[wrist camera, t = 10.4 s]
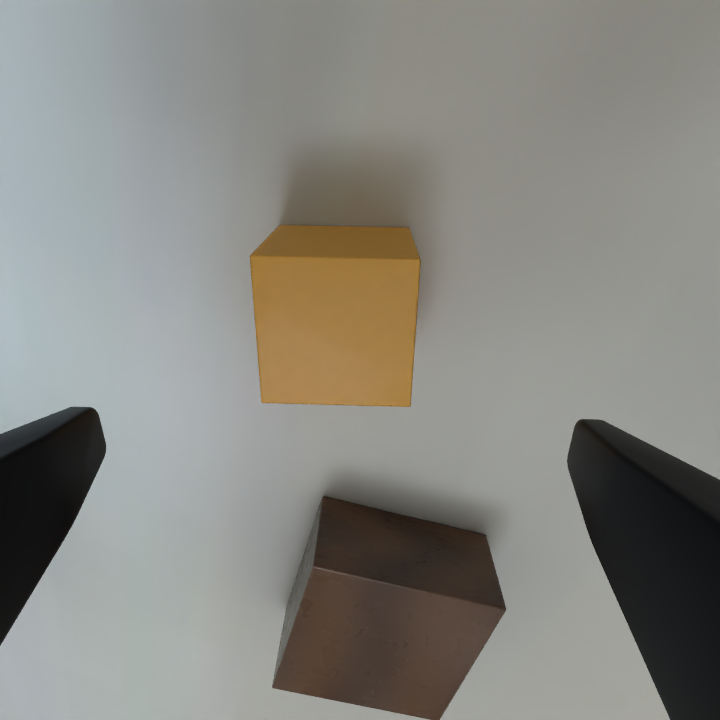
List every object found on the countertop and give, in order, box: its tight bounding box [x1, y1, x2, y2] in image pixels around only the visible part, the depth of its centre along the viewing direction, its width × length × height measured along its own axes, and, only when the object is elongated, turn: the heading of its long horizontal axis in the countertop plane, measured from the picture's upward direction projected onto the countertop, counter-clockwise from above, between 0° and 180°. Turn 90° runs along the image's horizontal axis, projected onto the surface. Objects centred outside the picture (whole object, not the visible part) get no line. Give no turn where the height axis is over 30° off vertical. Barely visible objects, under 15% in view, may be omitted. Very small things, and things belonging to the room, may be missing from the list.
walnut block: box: [272, 497, 506, 720], centre depth 23 cm, size 8×8×4 cm
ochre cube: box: [250, 225, 421, 407], centre depth 16 cm, size 5×5×5 cm
